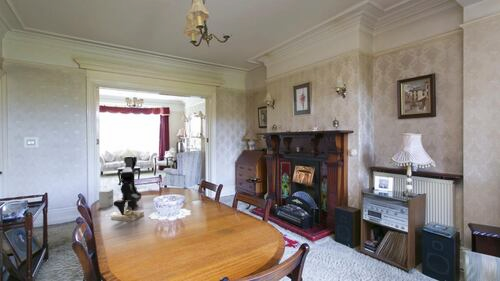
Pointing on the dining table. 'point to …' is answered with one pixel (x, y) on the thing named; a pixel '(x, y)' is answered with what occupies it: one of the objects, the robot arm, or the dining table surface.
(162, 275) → the dining table surface
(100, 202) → the supplement box
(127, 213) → the gold cylinder
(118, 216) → the hole deck
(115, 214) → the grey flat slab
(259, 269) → the dining table surface
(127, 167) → the robot arm
